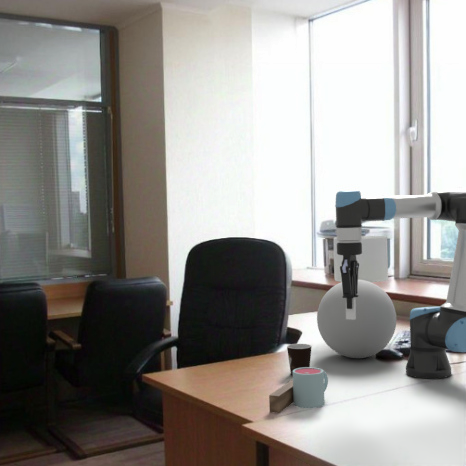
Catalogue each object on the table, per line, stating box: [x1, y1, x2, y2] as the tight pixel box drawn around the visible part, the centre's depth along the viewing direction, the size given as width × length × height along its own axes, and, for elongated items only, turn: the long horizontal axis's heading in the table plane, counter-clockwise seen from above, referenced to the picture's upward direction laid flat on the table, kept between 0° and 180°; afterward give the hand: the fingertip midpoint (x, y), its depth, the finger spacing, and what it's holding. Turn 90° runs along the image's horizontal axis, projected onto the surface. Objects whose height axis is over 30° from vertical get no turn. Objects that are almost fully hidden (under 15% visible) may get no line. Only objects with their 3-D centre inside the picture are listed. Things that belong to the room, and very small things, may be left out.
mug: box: [292, 366, 329, 409], centre depth 215 cm, size 14×9×10 cm
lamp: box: [333, 235, 389, 283], centre depth 307 cm, size 23×23×44 cm
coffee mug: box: [286, 343, 312, 377], centre depth 251 cm, size 12×9×10 cm
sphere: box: [316, 280, 397, 359], centre depth 274 cm, size 30×30×30 cm
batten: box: [268, 379, 294, 414], centre depth 217 cm, size 3×26×5 cm, turn 155°
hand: (351, 318), depth 217 cm, fingers closed
